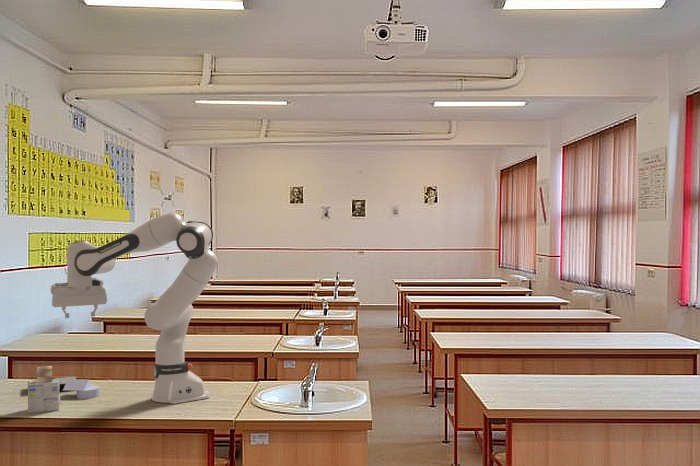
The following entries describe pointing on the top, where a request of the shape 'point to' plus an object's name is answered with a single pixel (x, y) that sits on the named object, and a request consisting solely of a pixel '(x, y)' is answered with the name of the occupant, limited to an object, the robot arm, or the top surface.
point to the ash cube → (44, 374)
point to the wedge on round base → (83, 388)
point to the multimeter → (63, 383)
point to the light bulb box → (43, 396)
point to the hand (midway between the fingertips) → (80, 317)
